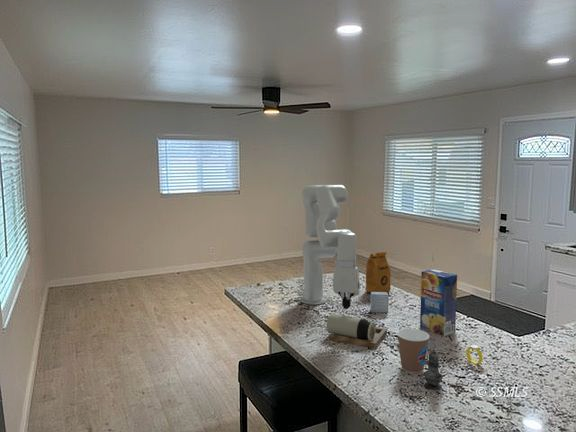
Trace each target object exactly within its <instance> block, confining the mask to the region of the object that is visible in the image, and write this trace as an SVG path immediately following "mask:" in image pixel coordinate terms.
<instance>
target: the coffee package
mask: <svg viewBox="0 0 576 432" xmlns="http://www.w3.org/2000/svg"><path fill="white" fill-rule="evenodd" d="M386 255H387V252H386V251H382V252H381V251H380V252H375V253H374V252H373V253H370V254H369V257H368V260H367V261H366V266H365V292H367V293H370V294H371V292H387V293H389V292H390V291H391V274H392V273H391V269H390V265H389V263H388V260H387V256H386Z"/></svg>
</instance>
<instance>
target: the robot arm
mask: <svg viewBox="0 0 576 432" xmlns="http://www.w3.org/2000/svg"><path fill="white" fill-rule="evenodd" d="M347 190H348V189H347V188H346V187H345V186H344V185H343V184H313V185H312V184H311V185H306V186H304V187H303V189H302V191H301V200H302V203H303V205H304V210H305V211H304V212H305V213H304V214H305V215H304V217H305V218H304V220H305V221H304V222H305V223H304V225H305V226H304V228H305V230H304V231H305V234H306V236H307V237H310V238H314V239H308V240H305V241H304V242H303V243H302V245H301V252H302V258H303V291H302V290H298V291H297V296H298V297H301V298H300V301H301V302H302V303H303V304H305V305H315V306H316V305H322V304H326V302H327V298H326V297H324V296H323V295H324V286H323V285H324V283H323V282H324V271H323V270H324V267H323V265H322V263H321V262H320V261H319V259H327V258H328V259H329V258H334V257H335V256H336V259H334V260H333V263H335V264H336V265H335V267H334V269H333V270H334V271H333V277H332V290H333V292H334V293H335V294H338V295H339V296H340V298H341V304H342V305H341V306H342V309H344V310H349V308H350V307H351V302H352V301H351V300H352V298H353V297H356V296H360V294H361V293H360V288H361V287H360V286H361V285H360V284H361V281H360V280H361V279H360V272H359V268H358V266H357V235H356V233H354V232H352V231H351V230H350V229H345V228H344V229H338V225H337V222H336V220H337V219H338V218H339V217H340V215H341V214H342V210H341V207H340V204H345V203H346V202H347V200H348V199H349V198H348V197H349V193H348V191H347ZM315 238H317V239H315Z"/></svg>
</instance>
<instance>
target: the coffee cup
mask: <svg viewBox="0 0 576 432" xmlns="http://www.w3.org/2000/svg"><path fill="white" fill-rule="evenodd" d="M396 335H397V339H398V338H399V341H398V347H399V357H400V366H401V369H402V370H403V371H405V372H406V373H410V374H420V373H422V372H423V371H424V368H425V363H426V357H427V350H428V344H429V339H430V334H429V333H427V332H426V331H425V330H421V329H417V328H416V329H415V328H404V329H403V328H402V329H400V330H398V331H397V333H396Z"/></svg>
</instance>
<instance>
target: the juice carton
mask: <svg viewBox="0 0 576 432" xmlns="http://www.w3.org/2000/svg"><path fill="white" fill-rule="evenodd" d="M420 279H421V280H420V283H421V284H420V316H419V319H420V320H419V328H422V329H424V330H427V331H429V332H431V333H435V334H437V335H440V336H441V337H444V336H448V335H451V334H454V333H456V320H457V319H456V318H457V317H456V316H457V294H458V293H457V291H458V274H456V273H451V272H447V271H442V270H439V269H434V268H433V269H432V268H431V269H427V270H422V271H421V277H420Z"/></svg>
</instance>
